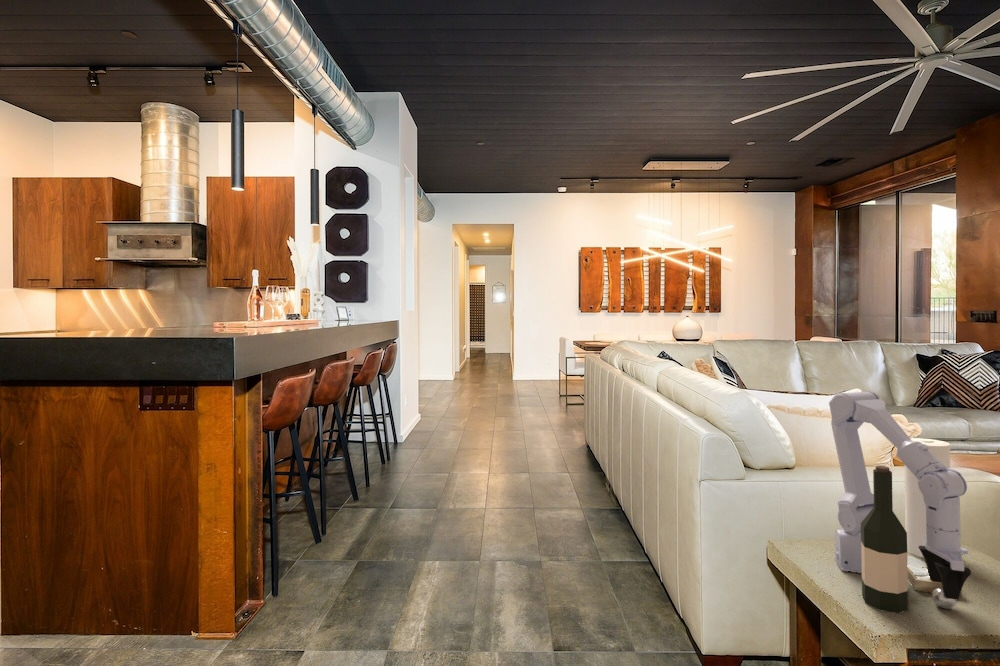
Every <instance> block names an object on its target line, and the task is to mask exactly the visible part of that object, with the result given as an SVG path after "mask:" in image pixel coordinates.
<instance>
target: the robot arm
mask: <svg viewBox="0 0 1000 666" xmlns="http://www.w3.org/2000/svg"><path fill="white" fill-rule="evenodd" d="M828 405H829V409H830V415H831V420H830V421H831V422H830V423H831V425H830V426H831V429H832V434H833V438H834V439H833V440H834V443H835V449H836V453H837V458H838V463H839V468H840V472H841V478H842V482H843V487H844V492H845V493H844V494H843V496H841V498H840V499H839V500H837V505H838V512H837V520H838V523H839V525H840V526H841V528H842V529H835V533H834V551H835V552H834V555H835V556H834V559H835V561H836V563H837V565H838V567H839V569H840V570H841V571H842V572H848V571H851V572H850V573H856V572H857V573H859V574H862V555H861V522H862V521H863V520H864V519H865V517H866V516H867V515H868V514H869V512H870V511H871V510H872V509H873V507H874V493H872V491H871V485H870V481H869V477H868V472H867V469H866V463H865V458H864V454H863V449H862V445H861V440H860V435H859V429H860V427H861V426H863V424H864V423H868V424H871V425H872V426H873V427H874V428H876V430H877V431H879V432H880V433H881V434H882V435H883V437H885V438H886V439H887V440H888V441H889V442H890V443H891V444H892V445H893V446H894V447H895V448H896V457H897V458H898V459H899V460H900V461H901V462H902V463H903V465H904V466H905V465H906V467H907V468H908V469H909V470H910V471H911V472H912V473H913V474H914V475H915V476H916V478H917V479H918V480H919V482H918V487H919V489H920V491H921V492H922V494H923V497H924V502H925V504H926V534H925V546H919V549H920V551H921V553H922V555H923V557H924V558H923V559H924V562H925V565H926V567H927V569H928V573H929V576H930V579H931V581H932V582H940V583H942V587H943V592H944V595H945V597H946V598H948V599H956V601H957V600H959V599H960V597H961V593H962V589H963V587H964V585H965V583H966V581H967V580H968V578H969V577H970V576H971V575H972V570H971V569H970V568H969V567H967V566H965V561H963V555H968V554H969V551H968V550H967V548H965V547H961V546H962V543H961V541H962V539H961V536H962V535H961V497H962V496H964V495H965V494H966V492H967V490H968V483H967V481H966V479H965V478H964V477H963V475H962V473H960V472H959V471H958V470H955V469H953V468H950V469H949V468H948V467H947V466H945V465H944V464H942V463H941V462H940V461H939V460H938V459H937V458H936V457H935V456H934V455H933V454H932V453H931V452H930V451H929V450H928V449H929V448H928V447H927V445H926V444H922V443H921V442H918V441H912V440H911V439H910V438H911V437H910V436H909V435H908V434H907V433H906V432H905V430H904V429H903V428H902V426H901V425H899V423H898V422H897V421H896V419H894V417H893V416H892V415H891V413H889V412H888V410H887V409H886V402H885V401H884V400H883V399H882V398H881V397H880V396H879V395H878V394H877V393H876V392H874V391H872V390H865V391H856V392H838V393H836V394H835V395H833V397H832V398H831V400H830V401H828Z"/></svg>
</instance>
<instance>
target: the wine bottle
mask: <svg viewBox="0 0 1000 666" xmlns="http://www.w3.org/2000/svg"><path fill="white" fill-rule="evenodd" d="M872 471H873V472H872V474H873V476H872V478H873V479H872V480H873V482H872V485H873V495H874V507H873V509H872V510H871V511H870V512H869V514H868V515H867V516H866V517H865V519H864V520H863V521H862V522H861V555H862V573H861V596H863V597H862V599H863V601H865V602H864V603H865V604H866V605H868V606H871V607H873V608H875V609H876V610H878V609H879V611H881V610H883V612H887V613H893V612H895V613H894V614H900V612H901V613H903V612H902V611H904V612H906V611H905V610H907V611H909V592H908V591H909V584H908V583H909V582H908V568H907V565H908V551H907V532H906V531H905V528H904V527H905V526H903V525H902V523H901V521H900V520H899V518H898V516H897V515H896V514H895V511H894V509H893V472H892V471H891V470H890V467H889V466H885V465H876V466H875V469H873V470H872Z"/></svg>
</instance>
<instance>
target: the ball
mask: <svg viewBox="0 0 1000 666" xmlns="http://www.w3.org/2000/svg"><path fill="white" fill-rule="evenodd" d="M931 598H932V601H933V602H934V604H935V605H937V606H938V607H940V608H942V609H952V608H954V607H955V606H956V604H957V600H956V599H948V598H946V597H945V595H944V592H943V588H937V589H935V590H934V591H933V592H932V593H931Z"/></svg>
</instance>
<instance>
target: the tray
mask: <svg viewBox="0 0 1000 666" xmlns="http://www.w3.org/2000/svg"><path fill="white" fill-rule="evenodd" d="M924 567H925V568H927V566H923V567H922V568H924ZM907 568H908V567H907ZM908 580H909V582H910V583H911V584H912V586H913V587H914V588H913V587H912V586H911V587H912V588H913V590H914V591H915V590H917V591H916V592H920V591H925V592H924V593H928V592H931V593H930V594H932V592H933V591H934V590H935V589H937V588H943V587H942V583H940V582H932V581H931V579H930V580H923V579H917V577H916V576H915V575H914V574H913V572H912V571H911V570H910V569H909V568H908ZM909 582H908V583H909ZM910 583H909V584H910ZM911 584H910V585H911Z"/></svg>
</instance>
